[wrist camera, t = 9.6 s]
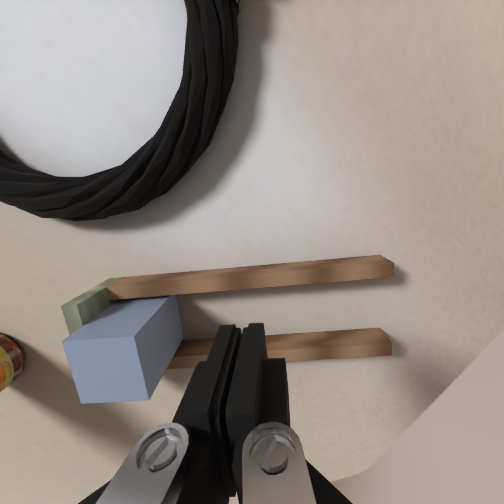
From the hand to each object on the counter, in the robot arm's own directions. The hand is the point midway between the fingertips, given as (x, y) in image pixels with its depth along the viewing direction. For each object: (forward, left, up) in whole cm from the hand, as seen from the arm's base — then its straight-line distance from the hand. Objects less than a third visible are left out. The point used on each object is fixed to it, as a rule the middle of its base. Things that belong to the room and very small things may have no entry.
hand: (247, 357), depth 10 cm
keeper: (+11, +5, -14) cm, 18 cm away
